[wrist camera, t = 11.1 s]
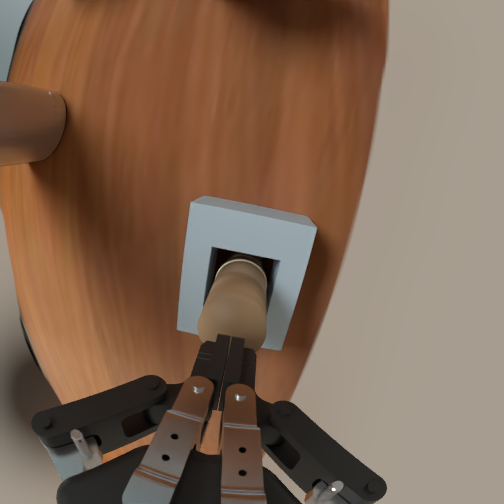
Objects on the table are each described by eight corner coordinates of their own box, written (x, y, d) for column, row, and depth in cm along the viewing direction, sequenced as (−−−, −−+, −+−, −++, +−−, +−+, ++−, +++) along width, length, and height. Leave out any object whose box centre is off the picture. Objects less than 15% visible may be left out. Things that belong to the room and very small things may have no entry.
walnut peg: (232, 288, 28) (213, 364, 17) (216, 250, 27) (184, 311, 16) (272, 275, 27) (276, 349, 16) (257, 236, 26) (253, 291, 15)
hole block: (278, 323, 29) (280, 350, 24) (189, 304, 29) (176, 329, 24) (307, 216, 25) (317, 228, 21) (204, 195, 25) (190, 202, 21)
